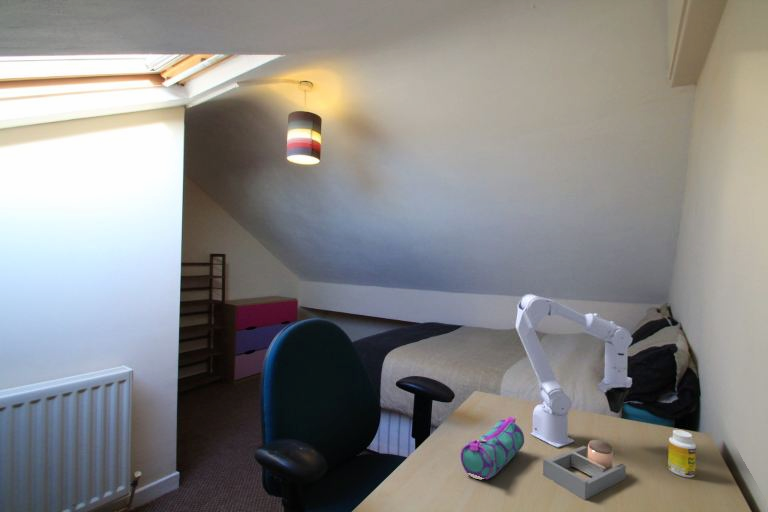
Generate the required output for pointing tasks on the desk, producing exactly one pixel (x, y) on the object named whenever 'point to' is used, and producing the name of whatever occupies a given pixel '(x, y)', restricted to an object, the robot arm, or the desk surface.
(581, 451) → the grey rectangular frame
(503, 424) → the pencil case
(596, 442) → the jar
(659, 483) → the desk surface
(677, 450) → the supplement bottle
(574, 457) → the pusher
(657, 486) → the desk surface
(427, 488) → the desk surface
